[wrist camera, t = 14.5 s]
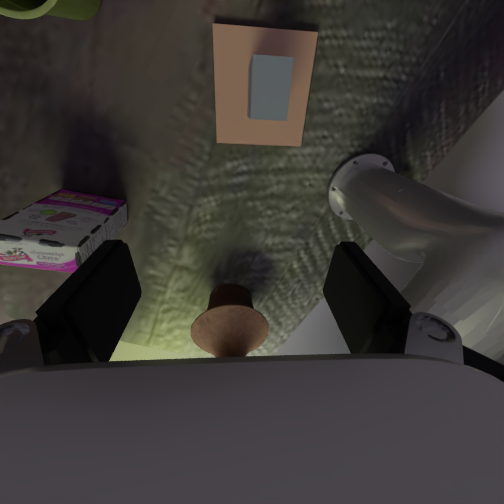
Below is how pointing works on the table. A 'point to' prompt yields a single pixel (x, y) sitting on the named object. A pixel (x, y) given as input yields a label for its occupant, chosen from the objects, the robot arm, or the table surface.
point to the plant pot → (50, 8)
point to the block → (269, 87)
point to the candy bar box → (60, 230)
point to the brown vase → (229, 323)
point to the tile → (236, 82)
